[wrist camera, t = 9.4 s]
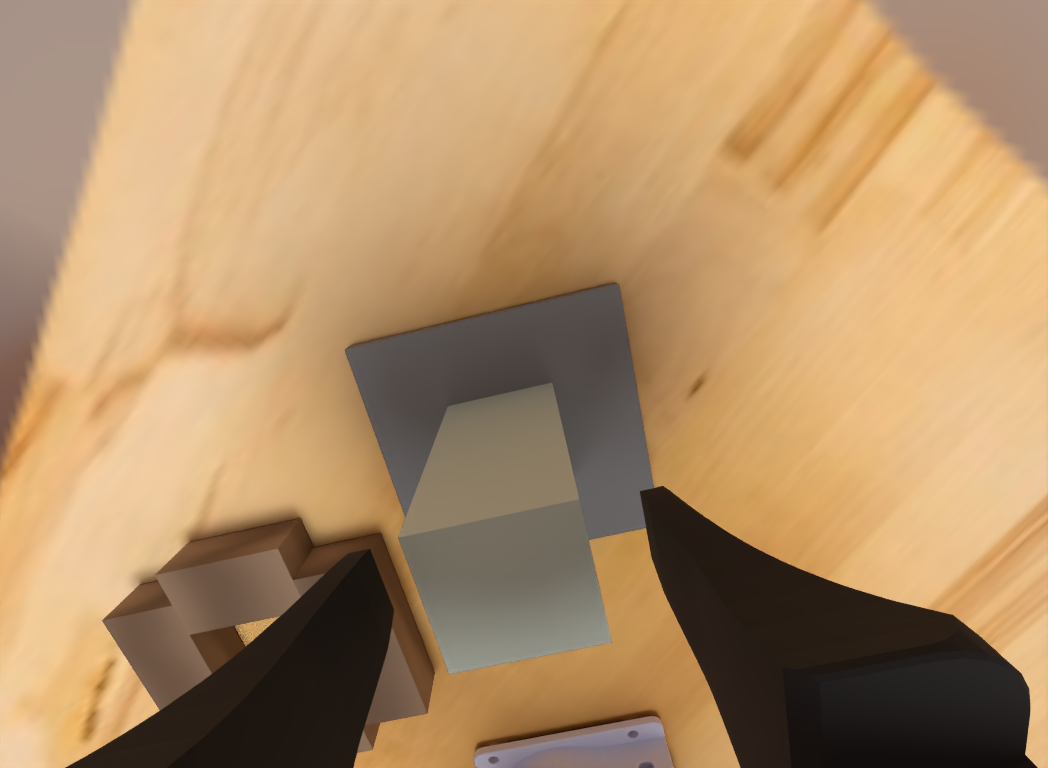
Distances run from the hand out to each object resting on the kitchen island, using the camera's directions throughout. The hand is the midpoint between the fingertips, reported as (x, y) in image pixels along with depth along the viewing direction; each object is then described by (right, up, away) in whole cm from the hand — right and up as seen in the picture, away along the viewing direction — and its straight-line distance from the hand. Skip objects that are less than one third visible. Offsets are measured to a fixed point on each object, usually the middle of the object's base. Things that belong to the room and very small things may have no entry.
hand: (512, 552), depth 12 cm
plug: (0, +2, +6) cm, 6 cm away
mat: (0, +2, +7) cm, 7 cm away
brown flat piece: (-10, -7, +9) cm, 16 cm away
